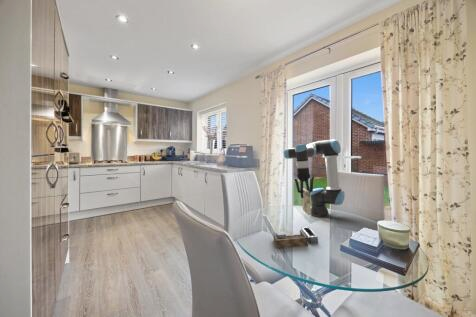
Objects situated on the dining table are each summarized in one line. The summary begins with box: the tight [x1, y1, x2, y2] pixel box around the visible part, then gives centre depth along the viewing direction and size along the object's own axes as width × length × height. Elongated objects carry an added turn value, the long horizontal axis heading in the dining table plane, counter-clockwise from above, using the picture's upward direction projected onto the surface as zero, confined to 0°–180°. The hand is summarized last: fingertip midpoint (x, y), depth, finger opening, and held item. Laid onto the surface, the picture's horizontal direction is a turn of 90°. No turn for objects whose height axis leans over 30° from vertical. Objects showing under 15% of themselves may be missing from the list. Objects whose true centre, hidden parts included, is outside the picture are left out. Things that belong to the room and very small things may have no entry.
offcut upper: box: [275, 230, 287, 238], centre depth 129 cm, size 5×5×3 cm
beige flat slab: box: [301, 187, 312, 216], centre depth 131 cm, size 11×2×15 cm, turn 178°
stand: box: [301, 226, 319, 244], centre depth 131 cm, size 16×5×4 cm, turn 178°
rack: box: [272, 229, 309, 249], centre depth 127 cm, size 19×12×5 cm, turn 88°
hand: (306, 202), depth 131 cm, fingers closed on beige flat slab, 2 cm apart
